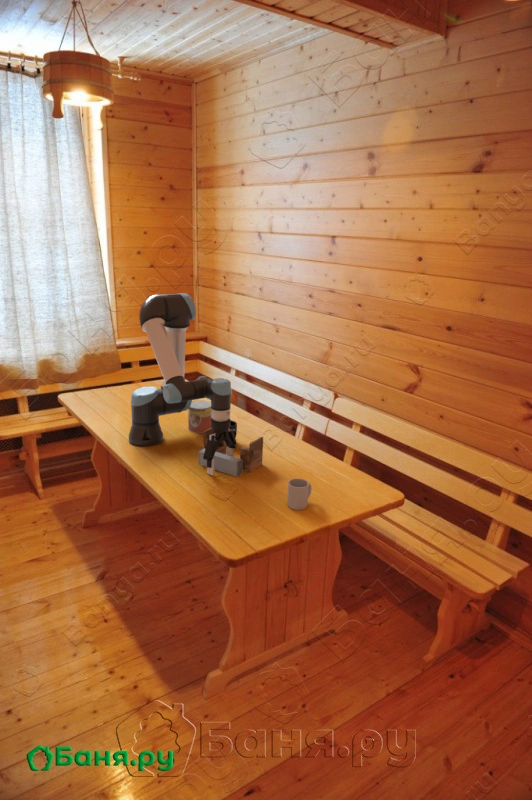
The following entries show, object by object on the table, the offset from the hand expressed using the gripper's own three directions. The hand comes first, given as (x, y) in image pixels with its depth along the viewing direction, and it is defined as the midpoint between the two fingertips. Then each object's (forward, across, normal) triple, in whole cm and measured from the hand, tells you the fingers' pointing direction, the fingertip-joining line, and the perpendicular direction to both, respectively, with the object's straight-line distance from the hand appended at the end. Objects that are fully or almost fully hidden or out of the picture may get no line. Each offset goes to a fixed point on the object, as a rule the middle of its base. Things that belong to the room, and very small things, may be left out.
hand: (220, 468), depth 229 cm
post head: (0, +9, +9) cm, 13 cm away
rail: (0, 0, 0) cm, 0 cm away
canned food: (0, +30, +33) cm, 45 cm away
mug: (0, +22, +11) cm, 25 cm away
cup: (0, -7, -40) cm, 41 cm away
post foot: (0, +9, -9) cm, 13 cm away
